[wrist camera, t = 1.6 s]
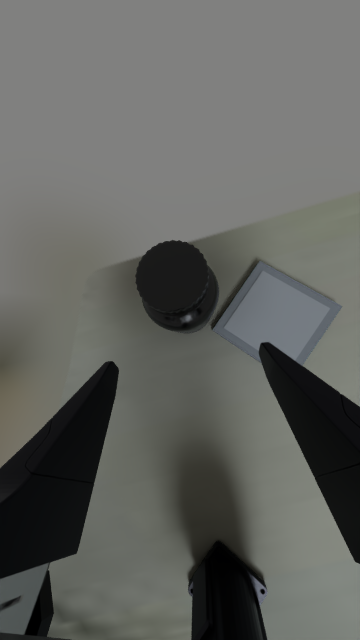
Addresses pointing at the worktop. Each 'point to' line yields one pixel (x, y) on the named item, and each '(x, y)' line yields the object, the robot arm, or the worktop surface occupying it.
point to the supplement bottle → (177, 286)
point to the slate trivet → (276, 315)
